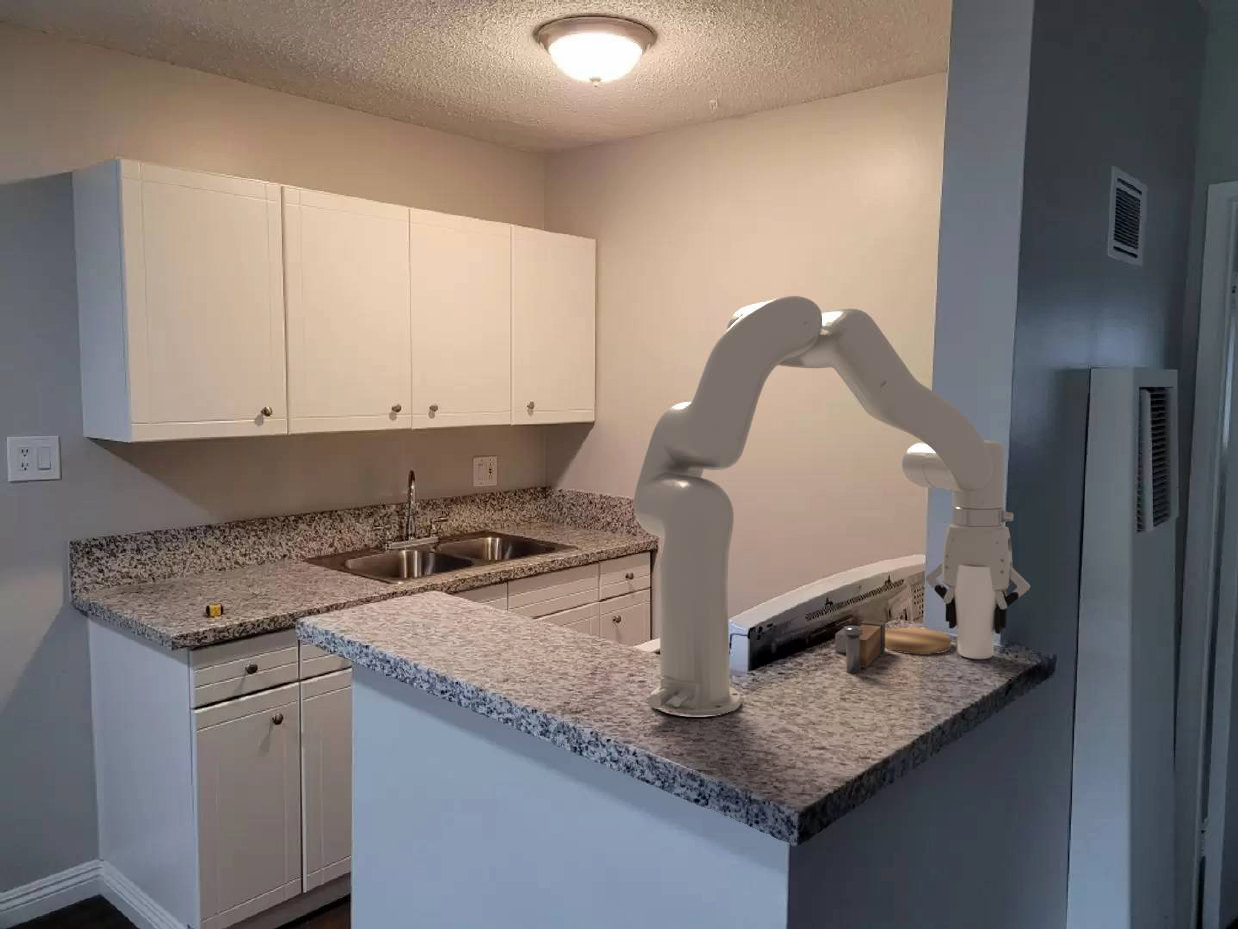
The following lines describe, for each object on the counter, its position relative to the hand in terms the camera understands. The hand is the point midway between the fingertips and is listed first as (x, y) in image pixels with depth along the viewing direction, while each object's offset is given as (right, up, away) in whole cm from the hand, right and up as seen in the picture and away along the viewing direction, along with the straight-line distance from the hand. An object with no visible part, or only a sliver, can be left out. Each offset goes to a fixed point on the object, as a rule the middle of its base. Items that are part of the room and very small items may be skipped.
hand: (975, 628), depth 143 cm
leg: (-17, -5, 0) cm, 18 cm away
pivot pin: (-21, -6, -6) cm, 23 cm away
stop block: (-19, -5, +6) cm, 21 cm away
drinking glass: (0, -5, 0) cm, 5 cm away
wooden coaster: (-7, -4, +7) cm, 11 cm away
